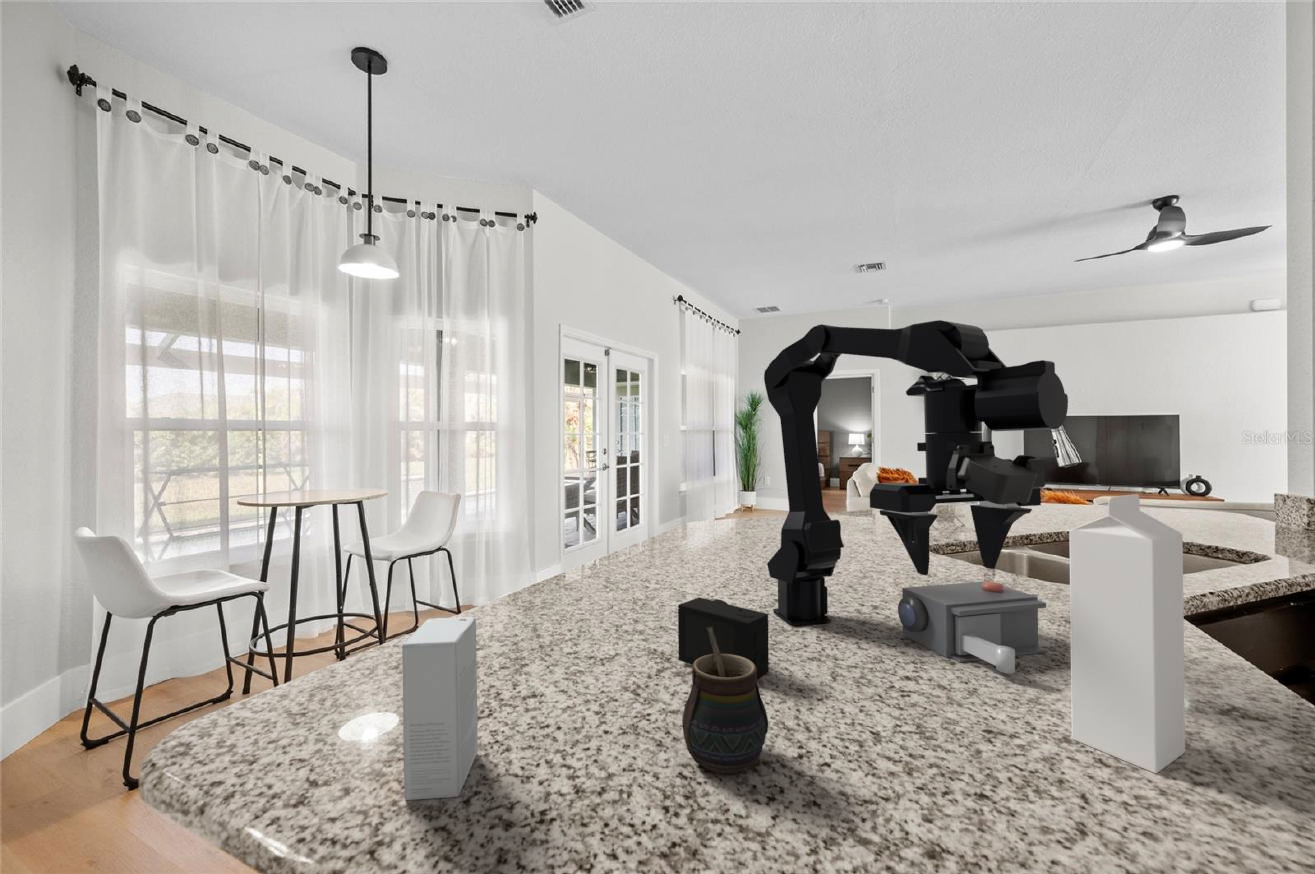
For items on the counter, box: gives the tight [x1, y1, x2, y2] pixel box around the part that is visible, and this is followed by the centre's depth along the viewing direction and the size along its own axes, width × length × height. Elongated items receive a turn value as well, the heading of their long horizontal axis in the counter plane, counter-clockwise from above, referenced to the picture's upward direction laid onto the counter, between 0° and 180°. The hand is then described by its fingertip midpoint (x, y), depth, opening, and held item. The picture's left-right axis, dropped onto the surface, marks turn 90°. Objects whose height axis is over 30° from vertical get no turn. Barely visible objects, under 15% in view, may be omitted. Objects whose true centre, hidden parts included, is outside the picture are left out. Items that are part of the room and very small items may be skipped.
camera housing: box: [897, 580, 1047, 663], centre depth 71 cm, size 16×10×7 cm, turn 103°
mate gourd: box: [681, 626, 769, 775], centre depth 46 cm, size 7×8×10 cm
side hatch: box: [955, 612, 1016, 674], centre depth 64 cm, size 6×7×5 cm
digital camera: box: [677, 596, 770, 681], centre depth 65 cm, size 10×5×7 cm, turn 48°
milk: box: [1068, 493, 1186, 774], centre depth 47 cm, size 6×6×22 cm
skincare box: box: [401, 616, 479, 801], centre depth 44 cm, size 6×4×12 cm
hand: (956, 571), depth 61 cm, fingers open, 9 cm apart
